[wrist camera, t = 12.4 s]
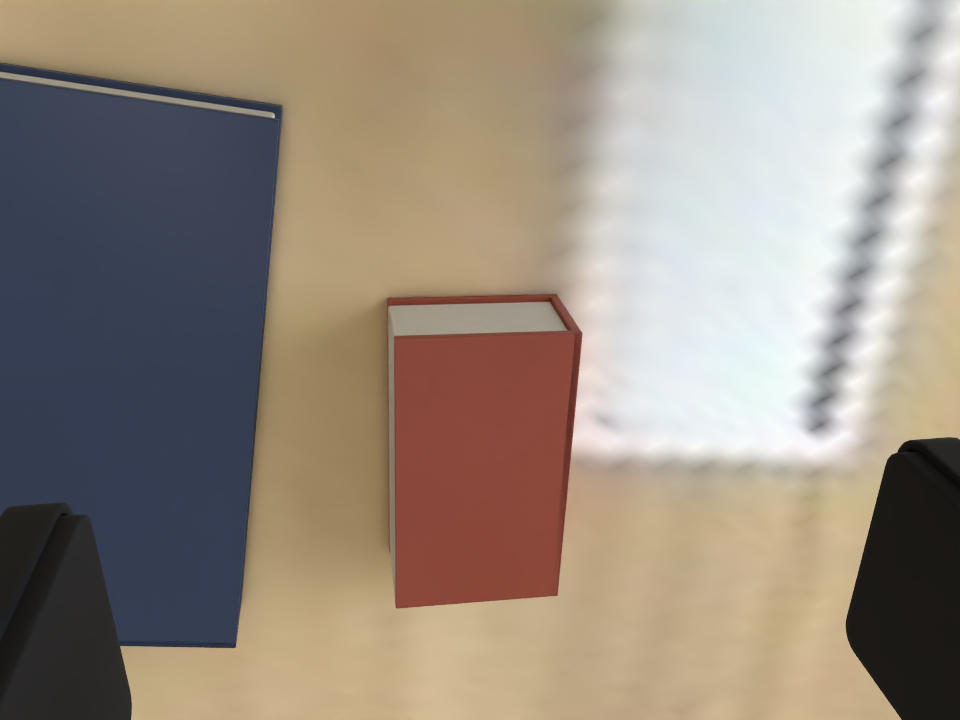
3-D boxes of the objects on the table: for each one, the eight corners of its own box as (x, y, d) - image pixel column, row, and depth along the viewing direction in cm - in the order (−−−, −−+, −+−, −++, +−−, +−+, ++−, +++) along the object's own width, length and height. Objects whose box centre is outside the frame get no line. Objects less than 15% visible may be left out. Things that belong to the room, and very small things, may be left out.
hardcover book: (282, 105, 28) (279, 120, 26) (241, 602, 36) (235, 648, 34) (-224, 28, 25) (-280, 37, 22) (-146, 590, 33) (-181, 640, 30)
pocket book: (556, 293, 32) (582, 333, 29) (537, 538, 37) (557, 596, 34) (387, 297, 31) (394, 338, 28) (389, 549, 36) (395, 608, 33)
